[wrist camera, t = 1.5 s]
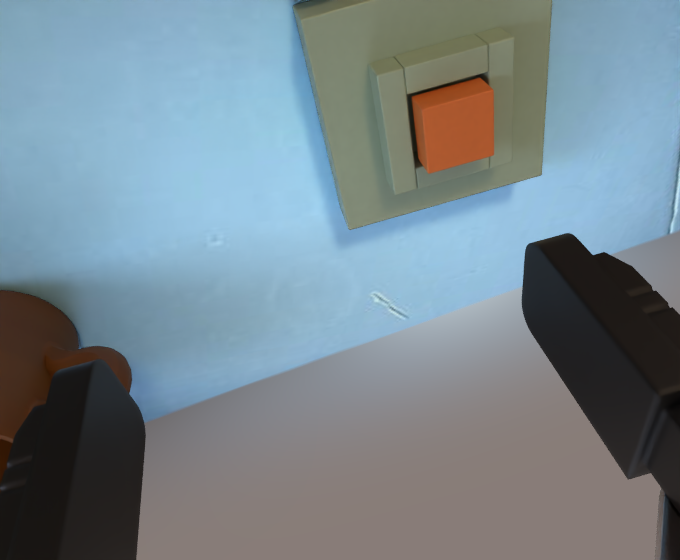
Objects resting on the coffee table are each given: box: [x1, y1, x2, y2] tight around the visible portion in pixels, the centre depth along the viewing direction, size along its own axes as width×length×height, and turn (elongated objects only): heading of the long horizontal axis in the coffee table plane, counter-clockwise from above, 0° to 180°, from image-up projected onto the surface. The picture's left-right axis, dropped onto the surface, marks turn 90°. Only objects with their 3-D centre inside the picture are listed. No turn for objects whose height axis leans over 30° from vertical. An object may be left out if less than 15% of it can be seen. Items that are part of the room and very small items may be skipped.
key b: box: [411, 78, 494, 174], centre depth 25 cm, size 3×3×2 cm
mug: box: [0, 290, 132, 493], centre depth 29 cm, size 12×8×9 cm, turn 107°
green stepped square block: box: [293, 0, 552, 230], centre depth 26 cm, size 11×11×4 cm
